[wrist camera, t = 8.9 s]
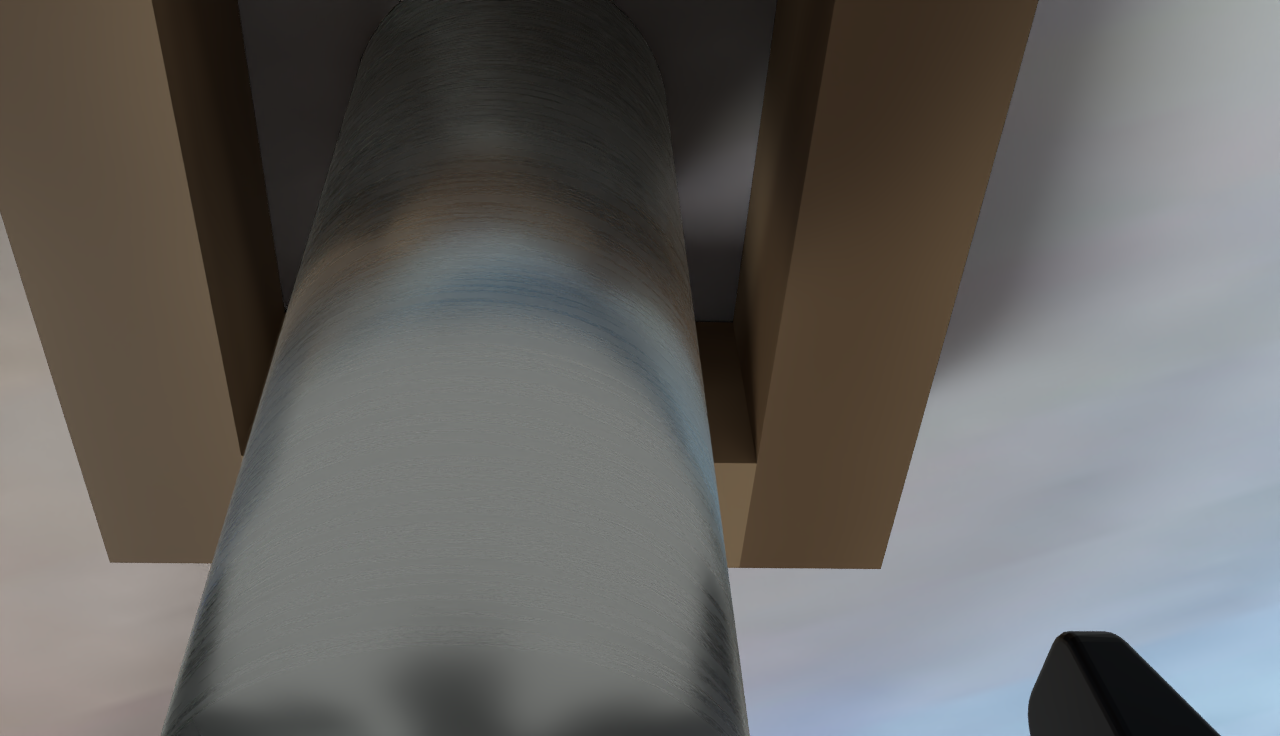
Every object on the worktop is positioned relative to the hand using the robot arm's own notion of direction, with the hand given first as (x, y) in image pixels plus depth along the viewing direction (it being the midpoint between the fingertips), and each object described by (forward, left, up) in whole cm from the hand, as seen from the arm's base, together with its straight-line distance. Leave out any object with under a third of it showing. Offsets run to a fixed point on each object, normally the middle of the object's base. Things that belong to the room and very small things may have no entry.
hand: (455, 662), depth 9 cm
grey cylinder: (0, 0, -9) cm, 9 cm away
